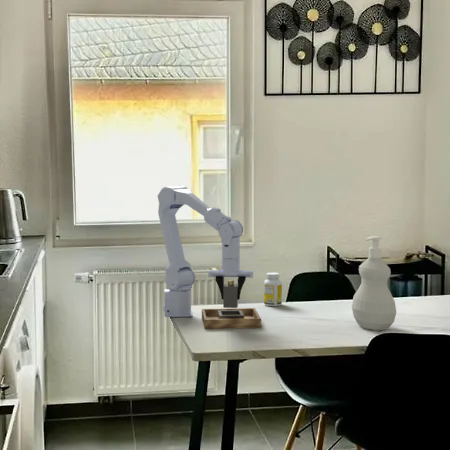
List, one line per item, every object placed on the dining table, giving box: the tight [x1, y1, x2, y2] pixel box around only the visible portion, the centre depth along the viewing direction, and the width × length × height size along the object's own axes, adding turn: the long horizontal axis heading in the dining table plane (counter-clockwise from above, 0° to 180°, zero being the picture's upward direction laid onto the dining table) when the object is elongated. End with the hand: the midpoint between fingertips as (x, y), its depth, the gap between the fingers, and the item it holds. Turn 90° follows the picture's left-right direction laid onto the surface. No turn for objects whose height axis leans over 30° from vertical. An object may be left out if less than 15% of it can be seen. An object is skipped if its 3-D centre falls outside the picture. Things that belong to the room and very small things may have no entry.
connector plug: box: [222, 279, 239, 309], centre depth 258 cm, size 4×4×8 cm
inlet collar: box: [217, 310, 244, 319], centre depth 259 cm, size 8×8×2 cm
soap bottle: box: [351, 235, 397, 331], centre depth 252 cm, size 17×12×29 cm
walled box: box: [201, 307, 262, 330], centre depth 259 cm, size 18×16×3 cm
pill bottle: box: [263, 271, 283, 307], centre depth 287 cm, size 6×6×12 cm
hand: (230, 299), depth 258 cm, fingers closed on connector plug, 4 cm apart
